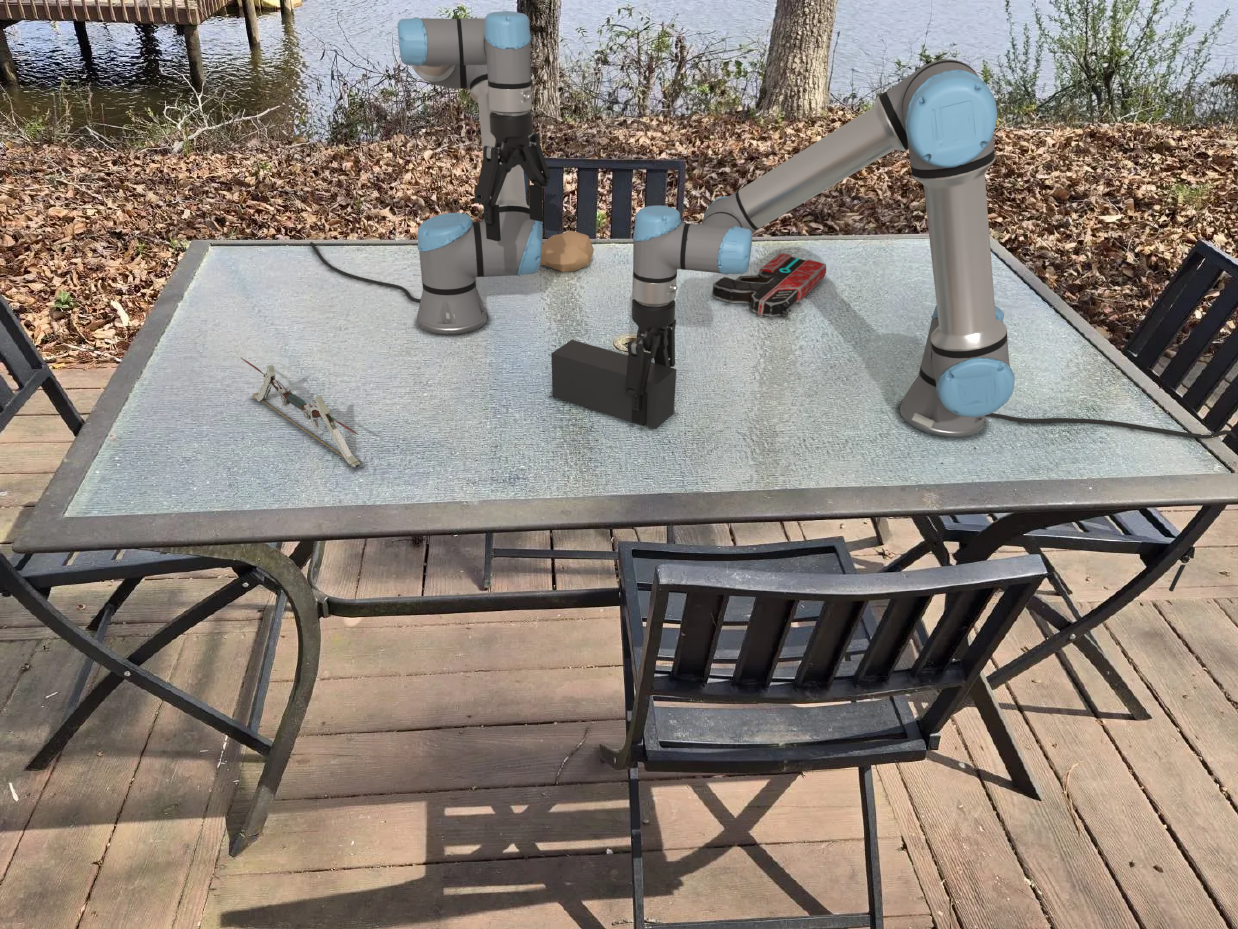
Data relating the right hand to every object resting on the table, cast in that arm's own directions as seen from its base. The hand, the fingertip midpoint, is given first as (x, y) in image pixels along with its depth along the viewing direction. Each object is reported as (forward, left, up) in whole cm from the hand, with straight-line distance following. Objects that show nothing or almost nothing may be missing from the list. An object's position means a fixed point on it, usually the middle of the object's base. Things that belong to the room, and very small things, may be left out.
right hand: (649, 413), depth 164 cm
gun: (-34, -61, -1) cm, 70 cm away
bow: (+62, +5, -1) cm, 63 cm away
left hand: (+25, -22, +27) cm, 43 cm away
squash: (+19, -76, -1) cm, 78 cm away
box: (+7, -4, -1) cm, 8 cm away
